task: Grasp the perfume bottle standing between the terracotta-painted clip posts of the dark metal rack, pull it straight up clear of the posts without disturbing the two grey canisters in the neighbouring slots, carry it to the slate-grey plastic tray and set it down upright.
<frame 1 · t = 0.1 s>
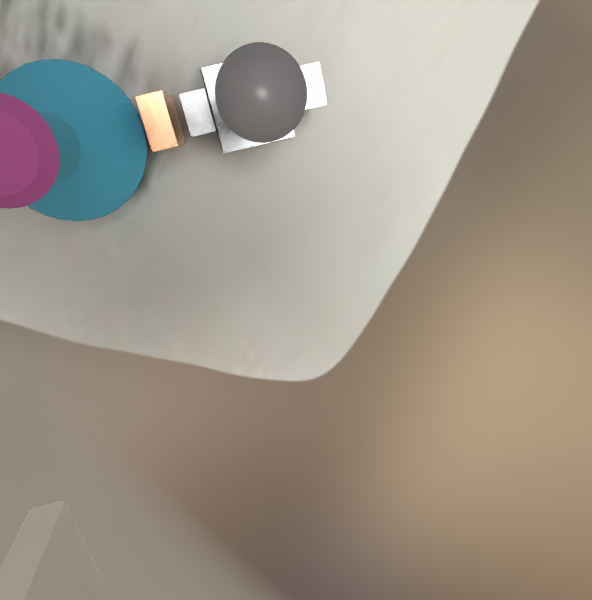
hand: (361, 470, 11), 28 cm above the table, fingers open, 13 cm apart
clip rack: (86, 142, 33), on the table
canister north: (249, 103, 33), point 1 cm above the table, touching clip rack
perfume bottle: (87, 141, 34), on the table
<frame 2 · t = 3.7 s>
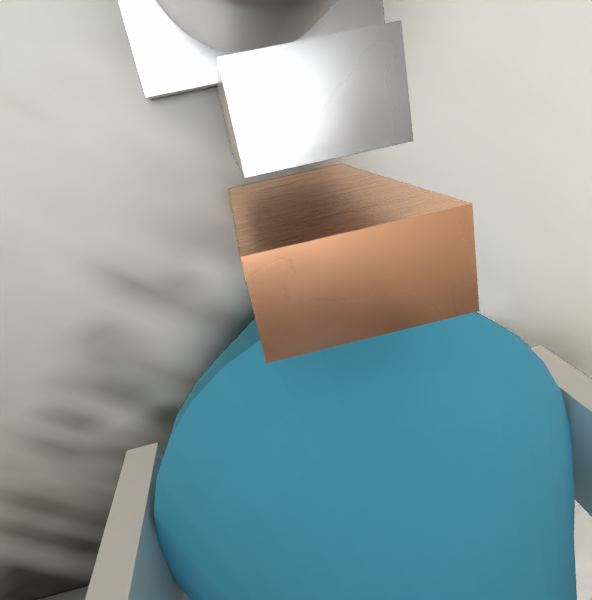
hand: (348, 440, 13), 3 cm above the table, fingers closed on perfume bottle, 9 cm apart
clip rack: (327, 389, 15), on the table
perfume bottle: (326, 386, 15), on the table, touching gripper
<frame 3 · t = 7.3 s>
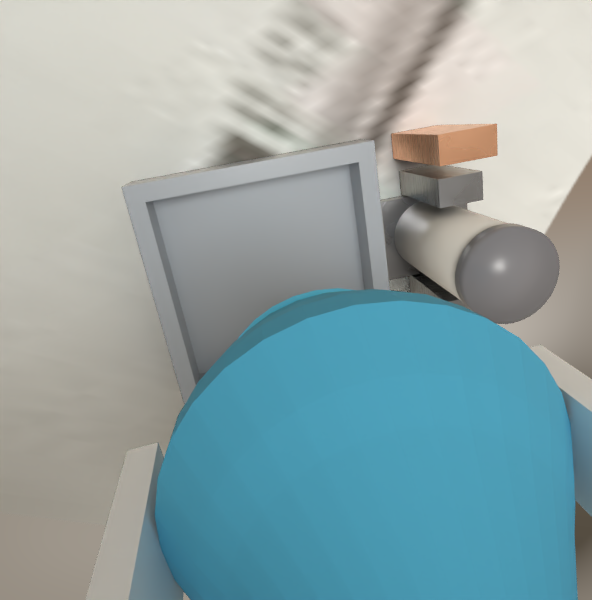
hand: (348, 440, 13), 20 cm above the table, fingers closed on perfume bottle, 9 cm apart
tray: (269, 269, 32), on the table
clip rack: (407, 39, 28), on the table
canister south: (427, 233, 32), point 1 cm above the table, touching clip rack
perfume bottle: (327, 387, 15), point 17 cm above the table, touching gripper
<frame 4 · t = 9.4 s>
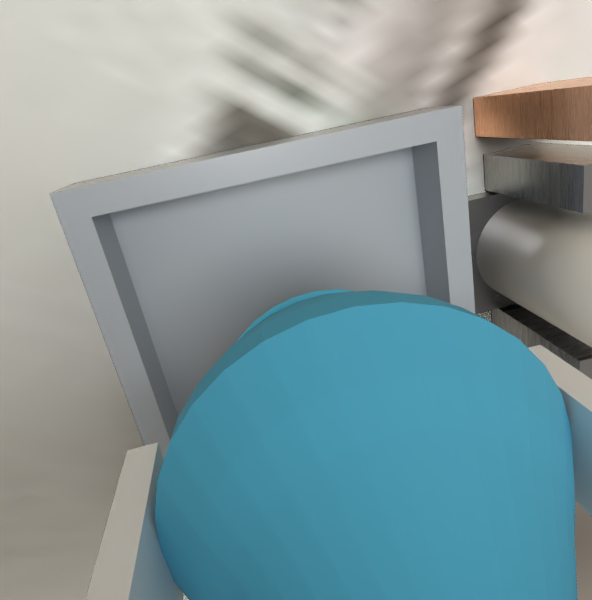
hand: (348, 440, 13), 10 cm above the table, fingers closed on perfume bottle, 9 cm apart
tray: (290, 307, 21), on the table
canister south: (523, 247, 21), point 1 cm above the table, touching clip rack
perfume bottle: (327, 388, 15), point 7 cm above the table, touching gripper
when the fingers open (5 cm above the table, at t = 11.3 s): perfume bottle drops 2 cm, resting on tray.
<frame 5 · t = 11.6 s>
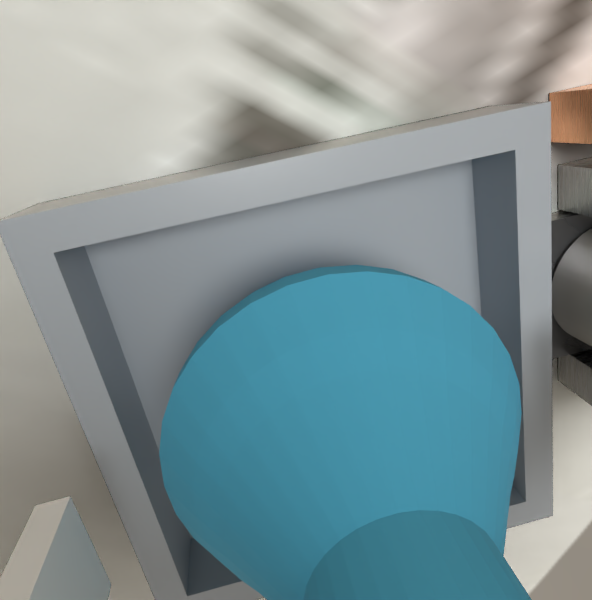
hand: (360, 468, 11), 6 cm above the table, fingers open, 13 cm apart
tray: (313, 355, 17), on the table
perfume bottle: (314, 361, 17), resting on tray
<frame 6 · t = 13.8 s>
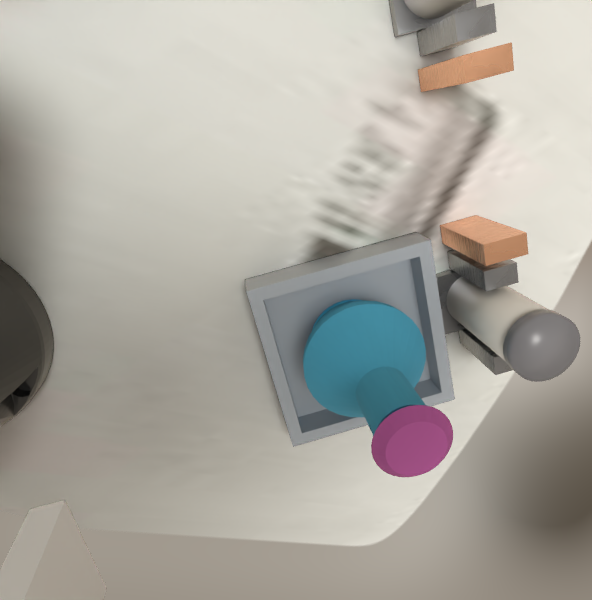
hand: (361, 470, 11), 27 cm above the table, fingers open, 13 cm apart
tray: (349, 334, 41), on the table
clip rack: (449, 156, 37), on the table
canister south: (472, 297, 40), point 1 cm above the table, touching clip rack
perfume bottle: (349, 336, 40), resting on tray
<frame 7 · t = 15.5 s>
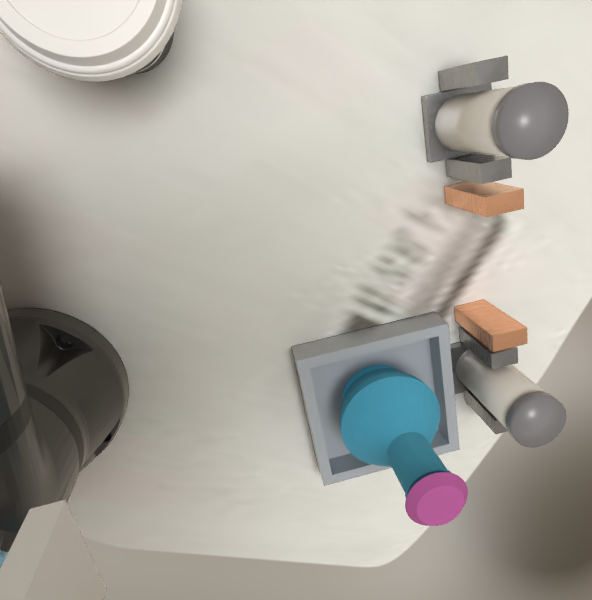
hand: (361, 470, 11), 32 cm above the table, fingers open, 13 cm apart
tray: (373, 391, 48), on the table
coffee cup: (127, 24, 35), on the table
clip rack: (465, 253, 45), on the table
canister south: (477, 365, 48), point 1 cm above the table, touching clip rack
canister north: (460, 123, 40), point 1 cm above the table, touching clip rack
perfume bottle: (374, 394, 48), resting on tray
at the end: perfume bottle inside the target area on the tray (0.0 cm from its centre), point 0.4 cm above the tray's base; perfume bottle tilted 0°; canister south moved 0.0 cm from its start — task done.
